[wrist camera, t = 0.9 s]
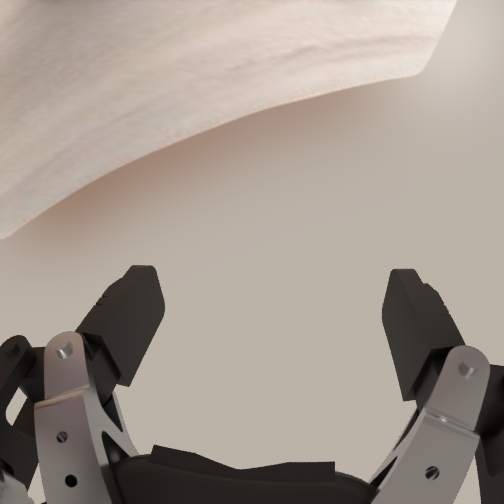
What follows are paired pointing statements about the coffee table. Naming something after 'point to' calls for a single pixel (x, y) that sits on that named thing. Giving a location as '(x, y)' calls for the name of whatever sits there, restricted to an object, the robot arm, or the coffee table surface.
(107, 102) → the coffee table surface
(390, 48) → the coffee table surface
